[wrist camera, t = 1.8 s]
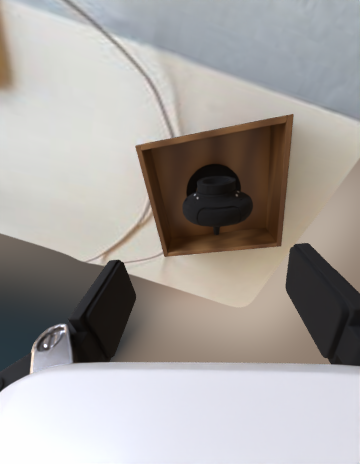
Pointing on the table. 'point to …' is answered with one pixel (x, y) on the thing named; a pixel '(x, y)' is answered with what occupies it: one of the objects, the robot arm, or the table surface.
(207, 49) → the table surface
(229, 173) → the webcam
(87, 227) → the table surface
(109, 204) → the table surface
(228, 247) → the wooden box
